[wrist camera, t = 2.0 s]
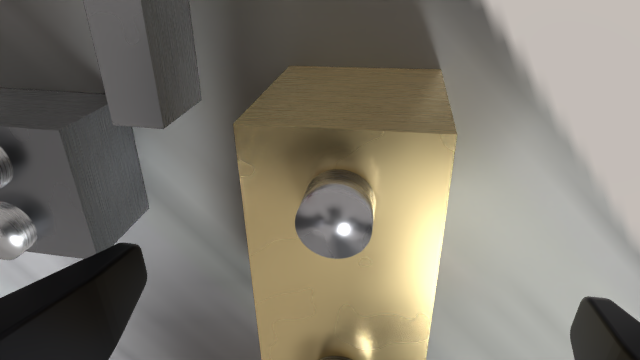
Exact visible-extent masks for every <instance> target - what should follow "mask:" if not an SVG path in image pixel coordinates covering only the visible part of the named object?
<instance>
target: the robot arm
mask: <svg viewBox="0 0 640 360" xmlns="http://www.w3.org/2000/svg"><path fill="white" fill-rule="evenodd" d="M146 282H147V270H146V266H145V262H144V258H143V254H142V250H141V248H140V246H139V245H137V244H131V243H118V244H116V245H114V246H111V247H109V248H107V249H105V250H103V251H101V252H99V253H96V254H94V255H92V256H90V257H88V258H86V259H83V260H81V261H79V262H77V263H75V264H73V265H71V266H68V267H66V268H64V269H62V270H60V271H58V272H56V273H53V274H51V275H49V276H47V277H45V278H43V279H40V280H38V281H36V282H34V283H32V284H30V285H28V286H25V287H23V288H21V289H19V290H17V291H15V292H12V293H10V294H8V295H6V296H4V297H2V298H0V360H108V359H109V358H110V356H111V354H112V352H113V351H114V349H115V347H116V345H117V343H118V341H119V339H120V338H121V336H122V333H123V331H124V329H125V327H126V325H127V323H128V321H129V319H130V317H131V314H132V312H133V310H134V308H135V306H136V304H137V302H138V300H139V298H140V295H141V293H142V291H143V289H144V287H145V285H146ZM570 339H571V344H572V349H573V354H574V358H575V360H640V322H639V321H637V320H636V319H635V318H633V317H632V316H631V315H630V314H628V313H627V312H626V311H624V310H623V309H622V308H620V307H619V306H618V305H617V304H615V303H614V302H613V301H611V300H609V299H606V298H598V297H589V296H588V297H585V298H583V299H582V301H581V302H580V305H579V308H578V310H577V313H576V315H575V318H574V321H573V323H572V326H571V330H570Z"/></svg>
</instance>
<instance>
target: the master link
mask: <svg viewBox="0 0 640 360" xmlns="http://www.w3.org/2000/svg"><path fill="white" fill-rule="evenodd" d="M233 128H234V136H235V144H236V153H237V161H238V169H239V178H240V186H241V194H242V203H243V211H244V219H245V227H246V236H247V244H248V252H249V261H250V269H251V277H252V286H253V294H254V302H255V311H256V319H257V327H258V335H259V344H260V352H261V360H426V355H427V348H428V341H429V334H430V326H431V319H432V312H433V305H434V298H435V290H436V283H437V276H438V269H439V262H440V255H441V247H442V240H443V233H444V226H445V219H446V211H447V204H448V197H449V190H450V183H451V176H452V168H453V161H454V154H455V147H456V140H457V132H456V128H455V124H454V120H453V116H452V112H451V108H450V104H449V100H448V96H447V92H446V88H445V84H444V80H443V76H442V72H441V70H440V69H399V68H358V67H317V66H289V67H288V68H287V69H286V70H285V71H284V72H283V73H282V74H281V75H280V76H279V77H278V78H277V79H276V80H275V81H274V82H273V83H272V84H271V85H270V86H269V87H268V88H267V89H266V90H265V92H264V93H263V94H262V95H261V96H260V97H259V98H258V99H257V100H256V101H255V102H254V103H253V104H252V105H251V106H250V107H249V108H248V109H247V110H246V111H245V112H244V113H243V114H242V115H241V116H240V117H239V118H238V119H237V120H236V121H235V122H234V123H233Z"/></svg>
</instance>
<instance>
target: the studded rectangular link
mask: <svg viewBox="0 0 640 360" xmlns="http://www.w3.org/2000/svg"><path fill="white" fill-rule="evenodd" d="M83 2H84V6H85V10H86V14H87V19H88V23H89V27H90V31H91V35H92V39H93V44H94V48H95V52H96V56H97V60H98V65H99V69H100V73H101V77H102V81H103V85H104V90H105V94H94V93H77V92H61V91H44V90H27V89H11V88H0V259H3V260H12V259H15V258H17V257H18V256H20V255H21V254H22V253H23V252H25V251H27V252H35V253H43V254H51V255H59V256H67V257H75V258H83V259H86V258H88V257H90V256H92V255H94V254H96V253H99V252H101V251H103V250H105V249H107V248H109V247H111V246H113V245H114V244H115V243H116V242H117V241H118V239H119V238H120V237H121V236H122V235H123V234H124V233H125V232H126V231H127V230H128V229H129V228H130V227H131V226H132V225H133V224H134V223H135V222H136V221H137V220H138V219H139V218H140V217H141V216H142V215H143V214H144V213H145V212H146V211H147V210H148V209H149V206H148V201H147V196H146V192H145V187H144V183H143V178H142V173H141V169H140V164H139V160H138V155H137V151H136V146H135V141H134V137H133V132H132V128H131V127H145V128H159V129H164V128H165V127H167V126H168V125H169V124H171V123H172V122H173V121H175V120H176V119H177V118H179V117H180V116H181V115H183V114H184V113H185V112H186V111H188V110H189V109H190V108H192V107H193V106H194V105H196V104H197V103H198V102H200V101H201V92H200V84H199V77H198V69H197V62H196V54H195V47H194V39H193V32H192V24H191V16H190V9H189V1H188V0H83Z"/></svg>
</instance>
